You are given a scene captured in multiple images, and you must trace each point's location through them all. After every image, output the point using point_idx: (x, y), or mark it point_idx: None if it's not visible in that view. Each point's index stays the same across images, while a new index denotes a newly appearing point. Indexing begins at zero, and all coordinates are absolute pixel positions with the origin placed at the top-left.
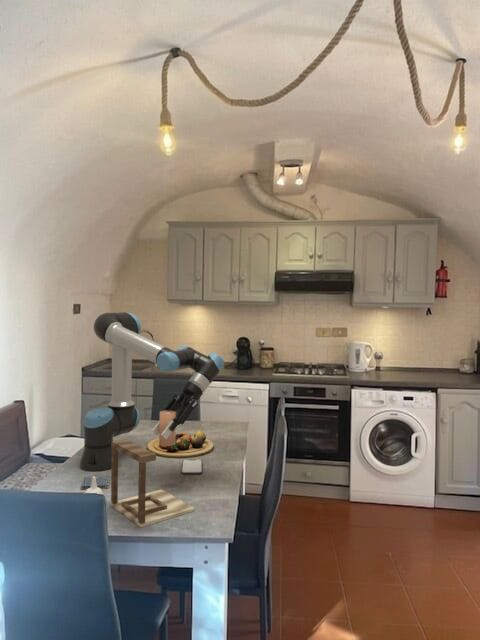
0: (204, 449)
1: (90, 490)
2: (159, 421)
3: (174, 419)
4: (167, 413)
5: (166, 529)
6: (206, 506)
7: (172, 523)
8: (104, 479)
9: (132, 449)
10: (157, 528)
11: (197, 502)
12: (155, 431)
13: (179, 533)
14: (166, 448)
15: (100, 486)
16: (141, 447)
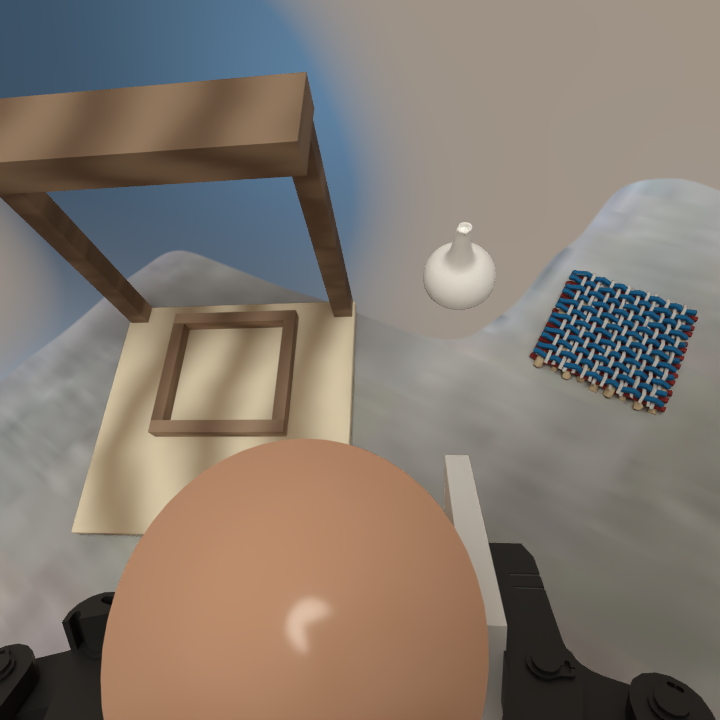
0: None
1: (449, 246)
2: (478, 551)
3: (76, 606)
4: (183, 531)
5: (65, 368)
6: (66, 614)
7: (78, 405)
8: (629, 374)
9: (69, 109)
10: (93, 349)
11: None
12: (446, 494)
13: (13, 385)
14: None
15: (546, 331)
16: (54, 155)
